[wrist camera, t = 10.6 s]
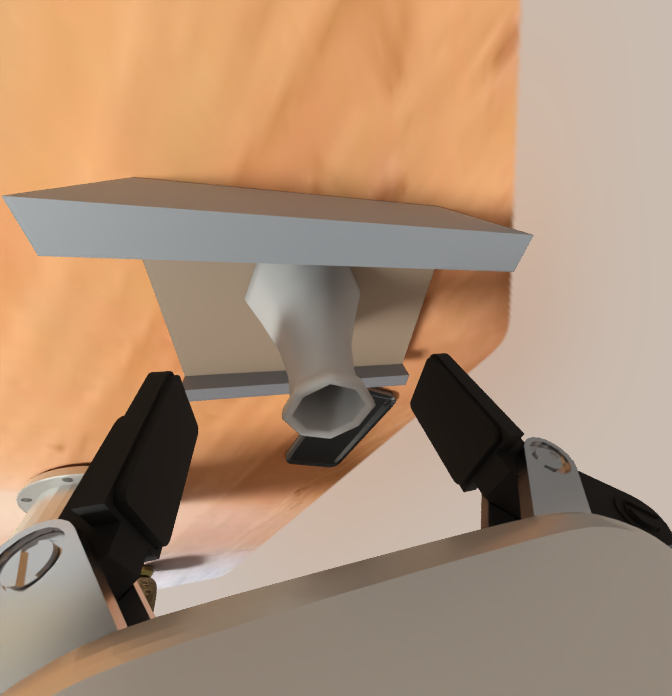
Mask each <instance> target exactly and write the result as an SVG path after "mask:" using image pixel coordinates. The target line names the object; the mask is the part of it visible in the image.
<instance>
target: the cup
mask: <svg viewBox="0 0 672 696" xmlns="http://www.w3.org/2000/svg"><path fill="white" fill-rule="evenodd" d="M153 573H154V570H153V567H151V566H143V567H142V570H141V574H140V577H139V579H138V580H137V582H138V584H139V586H140V588H141V590H142V592H143V594H144V596H145V598H146V600H147V602H148V604H149V605H150V607H151V609H152V611H154V605H155V600H156V591H157V586H156V582H155V581H154V580H153V579H152V578H151V576H152V575H153Z"/></svg>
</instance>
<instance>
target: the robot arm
mask: <svg viewBox="0 0 672 696" xmlns="http://www.w3.org/2000/svg"><path fill="white" fill-rule="evenodd" d="M410 405H411V409H412V411H413V413H414V414H415V416H416V418H417V419H418V421H419V423H420V424H421V426H422V428H423V429H424V431H425V432H426V435H427V436H428V438H429V440H430V441H431V443H432V445H433V446H434V448H435V449H436V451H437V453H438V455H439V457H440V458H441V460H442V462H443V463H444V465H445V467H446V468H447V470H448V472H449V473H450V475H451V477H452V479H453V480H454V482H456V483H457V484H459V485H460V487H461V488H462V490H463V492H467V491H472V490H476V489H477V488H479V490H480V492H481V493H482V503H481V529H480V530H477V531H473V532H469V533H465V534H461V535H458V536H453V537H450V538H446V539H442V540H438V541H434V542H431V543H427V544H423V545H419V546H415V547H411V548H408V549H404V550H400V551H396V552H392V553H389V554H385V555H381V556H377V557H374V558H370V559H366V560H362V561H359V562H355V563H351V564H347V565H343V566H340V567H336V568H332V569H328V570H325V571H321V572H317V573H313V574H310V575H306V576H302V577H299V578H295V579H291V580H288V581H284V582H280V583H276V584H273V585H269V586H265V587H261V588H258V589H254V590H250V591H247V592H243V593H240V594H236V595H232V596H228V597H225V598H221V599H218V600H214V601H211V602H208V603H204V604H201V605H198V606H194V607H190V608H187V609H183V610H180V611H177V612H173V613H170V614H166V615H163V616H159V617H155V615H154V613H153V611H152V609H151V607H150V605H149V604H148V602H147V600H146V598H145V596H144V594H143V592H142V590H141V588H140V586H139V584H138V582H137V580H138V579H139V577H140V574H141V570H142V567H143V564H144V562H147V561H152V560H156V559H159V557H160V554H161V550H162V547H164V546H167V545H168V543H169V541H170V539H171V535H172V532H173V528H174V524H175V520H176V516H177V513H178V509H179V505H180V501H181V497H182V493H183V490H184V486H185V482H186V478H187V474H188V470H189V467H190V463H191V459H192V455H193V451H194V447H195V444H196V440H197V436H198V425H197V422H196V419H195V417H194V414H193V411H192V408H191V406H190V403H189V400H188V398H187V395H186V392H185V389H184V387H183V384H182V381H181V378H180V376H179V375H174V374H173V372H172V371H165V372H151V373H149V374H148V376H147V377H146V379H145V381H144V383H143V384H142V386H141V388H140V389H139V391H138V393H137V395H136V396H135V398H134V400H133V402H132V403H131V405H130V407H129V409H128V410H127V412H126V414H125V416H122V417H120V418H119V419H118V420H117V421H116V422H115V423H114V425H113V427H112V428H111V430H110V432H109V434H108V435H107V437H106V439H105V440H104V442H103V444H102V445H101V447H100V449H99V450H98V452H97V454H96V455H95V457H94V459H93V460H92V462H91V464H90V465H89V466H73V467H65V468H60V469H54V470H51V471H48V472H45V473H42V474H39V475H37V476H35V477H33V478H32V479H30V480H29V481H28V482H27V483H26V484H25V485H24V486H23V488H22V489H21V491H20V492H19V493H18V494H17V498H16V501H17V504H18V506H19V507H20V508H21V509H22V510H23V511H24V512H26V513H27V514H26V515H25V517H24V518H23V520H22V521H21V523H20V524H19V525H18V527H17V528H16V530H15V531H14V533H13V534H12V536H11V537H10V538H9V540H8V541H7V542H5V543H4V544H3V545H1V546H0V696H672V532H671V531H670V529H669V527H668V526H667V524H666V523H665V522H664V521H663V520H662V518H661V517H660V516H659V515H658V514H657V513H656V512H655V511H654V510H653V509H651V508H650V507H649V506H647V505H646V504H644V503H643V502H642V501H640V500H638V499H637V498H635V497H633V496H631V495H629V494H627V493H625V492H623V491H620V490H618V489H616V488H614V487H612V486H610V485H607V484H605V483H603V482H601V481H599V480H597V479H594V478H592V477H590V476H588V475H586V474H584V473H582V472H580V471H578V470H577V467H576V465H575V463H574V461H573V460H572V459H571V458H570V457H569V455H568V454H567V453H565V452H564V451H563V450H562V449H561V448H559V447H558V446H556V445H555V444H553V443H551V442H549V441H547V440H545V439H541V438H536V437H531V438H528V439H527V440H526V441H525V442H524V441H523V440H522V439H521V437H522V436H523V435H524V433H523V432H522V431H521V430H520V429H519V428H518V427H517V426H516V425H515V424H514V422H513V421H511V419H510V418H509V417H508V416H507V415H506V414H505V413H504V412H503V411H502V410H501V409H500V408H499V407H498V406H497V405H496V404H495V403H494V402H493V401H492V399H490V397H489V396H488V395H487V394H486V393H485V392H484V391H483V390H482V389H481V388H480V387H479V386H478V385H477V384H476V383H475V382H474V381H473V380H472V379H471V378H470V377H469V375H468V374H467V373H466V372H465V371H464V370H463V369H462V368H461V367H460V366H459V365H458V364H457V363H456V362H455V361H454V360H453V359H452V358H451V357H450V356H449V355H448V354H446V353H442V354H432V355H431V356H430V358H428V359H427V361H426V363H425V366H424V368H423V371H422V374H421V376H420V379H419V381H418V384H417V386H416V389H415V391H414V394H413V397H412V399H411V402H410Z"/></svg>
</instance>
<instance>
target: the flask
mask: <svg viewBox="0 0 672 696" xmlns="http://www.w3.org/2000/svg"><path fill="white" fill-rule="evenodd" d="M359 298H360V289H359V286H358V284H357V282H356V280H355V277H354V275H353V273H352V271H351V268H350V266H327V265H297V264H268V263H256V265H255V268H254V271H253V274H252V277H251V280H250V283H249V286H248V290H247V293H246V296H245V301H246V302H247V304H248V305H249V307H250V308H251V309H252V311H253V312H254V314H255V315H256V316H257V318H258V319H259V320H260V322H261V323H262V325H263V326H264V328H265V329H266V331H267V333H268V334H269V336H270V337H271V339H272V340H273V342H274V344H275V345H276V347H277V348H278V350H279V352H280V354H281V357H282V360H283V363H284V366H285V369H286V372H287V375H288V380H289V392H290V397H289V399H288V401H287V403H286V404H285V406H284V408H283V411H282V419H283V420H284V421H285V422H286V423H288V424H289V425H290V426H291V427H292V428H293V429H294V430H296V431H297V432H298V433H299V434H300V435H304V436H312V437H320V438H329V439H331V438H333V437H335V436H337V435H340V434H342V433H344V432H346V431H348V430H351V429H353V428H355V427H357V426H359V425H360V423H361V422H362V421H363V420H364V419H365V417H366V416H367V415H368V414H369V413H370V411H371V410H372V409H373V408H374V406H375V402H374V400H373V398H372V396H371V395H370V393H369V391H368V390H367V388H366V387H365V385H364V383H363V382H362V380H361V379H360V378H359V377H358V376H356V373H355V370H354V363H353V353H352V337H353V330H354V323H355V316H356V312H357V307H358V302H359Z"/></svg>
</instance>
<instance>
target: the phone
mask: <svg viewBox="0 0 672 696" xmlns="http://www.w3.org/2000/svg"><path fill="white" fill-rule="evenodd" d="M367 390H368V391H369V393H370V395H371V396H372V398H373V400H374V402H375V406H374V408H373V409H372V410H371V411H370V413H369V414H368V415H367V416H366V417H365V419H364V420H363V421H362V422H361V423H360V425H359V426H357V427H355V428H353V429H351V430H348V431H346V432H344V433H342V434H340V435H337V436H335V437H333V438H331V439H329V438H320V437H312V436H304V435H299V436H298V438H297V439H296V440H295V442H294V443H293V445H292V446H291V447H290V449H289V450H288V452H287V453H286V461H287V462H288V463H289V464H298V465H309V466H320V467H334V466H337V465H338V464H340V462H341V461H342V460H343V459H344V458H345V457H346V456H347V455H348V454H349V453H350V452H351V451H352V450H353V448H354V447H355V446H356V445H357V444H358V443H359V442H360V441H361V440H362V439H363V438H364V437H365V436H366V434H367V433H368V432H369V431H370V430H371V429H372V428H373V427H374V426H375V425H376V424H377V423H378V421H379V420H380V419H381V418H382V417H383V416H384V415H385V414H386V413H387V412H388V411H389V410H390V409H391V407H392V406H393V405H394V404H395V402H396V399H395V397H394V395H393V393H392V392H390V391H386V390H383V389H379V388H376V387H370V388H367Z"/></svg>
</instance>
